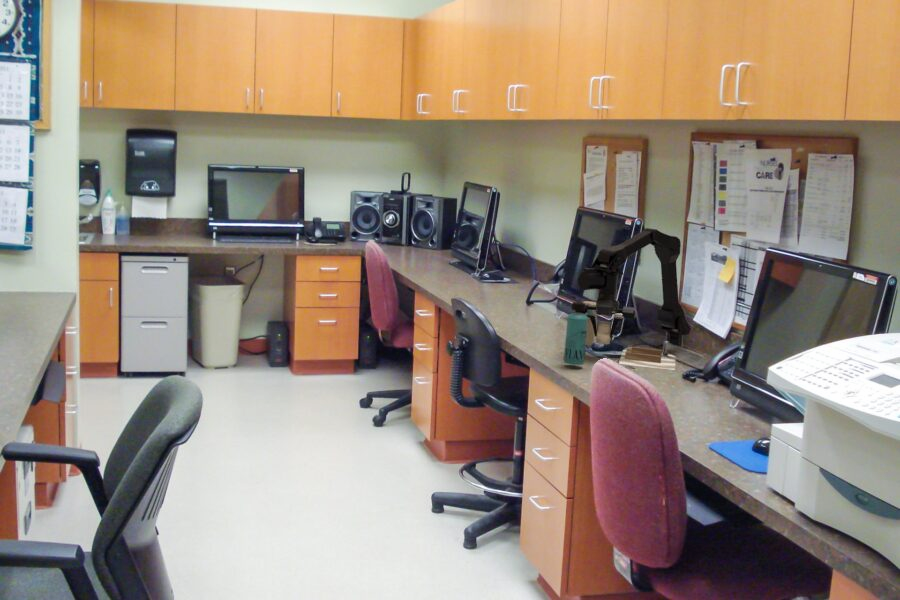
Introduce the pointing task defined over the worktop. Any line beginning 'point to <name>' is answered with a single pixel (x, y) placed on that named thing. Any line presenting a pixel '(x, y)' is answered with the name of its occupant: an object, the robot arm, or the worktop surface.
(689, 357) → the bar
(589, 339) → the handle
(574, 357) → the beverage bottle
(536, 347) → the worktop surface
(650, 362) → the cradle
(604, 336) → the pivot pin
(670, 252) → the robot arm
